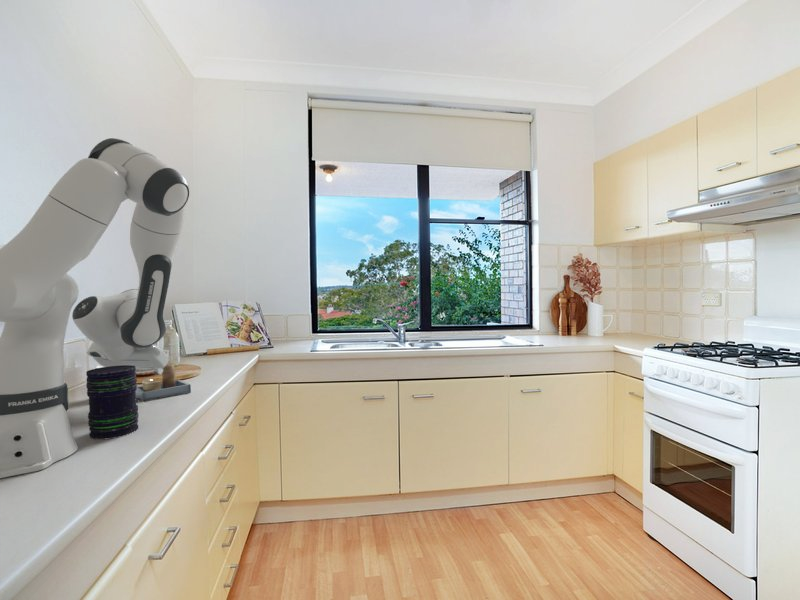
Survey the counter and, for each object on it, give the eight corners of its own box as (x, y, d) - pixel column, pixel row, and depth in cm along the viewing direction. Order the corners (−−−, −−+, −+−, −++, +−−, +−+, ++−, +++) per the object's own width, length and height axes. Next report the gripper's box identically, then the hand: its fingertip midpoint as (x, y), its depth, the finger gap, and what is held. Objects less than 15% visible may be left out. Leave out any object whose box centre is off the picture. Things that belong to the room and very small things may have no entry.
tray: (142, 401, 129) (142, 392, 129) (133, 395, 136) (133, 387, 136) (190, 392, 138) (190, 384, 138) (179, 387, 146) (179, 379, 146)
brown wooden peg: (164, 392, 136) (163, 367, 136) (161, 390, 139) (160, 365, 138) (177, 390, 139) (176, 365, 138) (173, 388, 141) (172, 364, 141)
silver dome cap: (144, 394, 134) (143, 381, 134) (141, 392, 136) (141, 380, 136) (155, 392, 136) (154, 379, 136) (152, 390, 139) (151, 378, 138)
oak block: (146, 397, 131) (146, 383, 130) (143, 394, 133) (142, 382, 133) (161, 394, 133) (160, 381, 133) (157, 392, 136) (156, 379, 136)
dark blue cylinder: (79, 441, 96) (76, 374, 95) (101, 427, 105) (98, 366, 105) (129, 437, 98) (125, 371, 97) (145, 423, 107) (142, 364, 107)
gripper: (158, 335, 121) (181, 364, 131) (94, 335, 123) (121, 363, 133) (147, 354, 116) (172, 381, 126) (80, 353, 119) (110, 380, 129)
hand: (145, 372), depth 130 cm, fingers open, 8 cm apart
